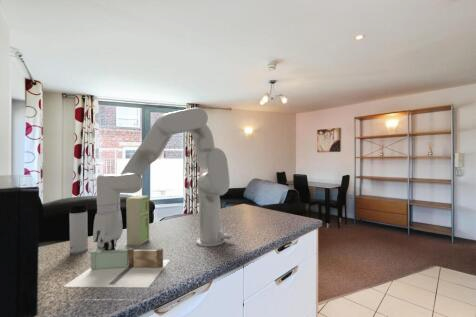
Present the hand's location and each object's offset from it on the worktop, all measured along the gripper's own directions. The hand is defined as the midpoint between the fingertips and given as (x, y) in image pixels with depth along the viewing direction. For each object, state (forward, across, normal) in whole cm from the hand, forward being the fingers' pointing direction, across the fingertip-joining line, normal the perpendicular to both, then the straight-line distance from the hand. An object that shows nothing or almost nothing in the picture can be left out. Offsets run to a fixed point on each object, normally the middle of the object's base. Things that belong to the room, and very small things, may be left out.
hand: (109, 258), depth 90 cm
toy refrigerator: (+3, -24, -4) cm, 24 cm away
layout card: (+2, +5, +9) cm, 10 cm away
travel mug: (+2, -9, -22) cm, 24 cm away
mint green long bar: (+2, +3, +2) cm, 4 cm away
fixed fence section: (+2, 0, +14) cm, 14 cm away
